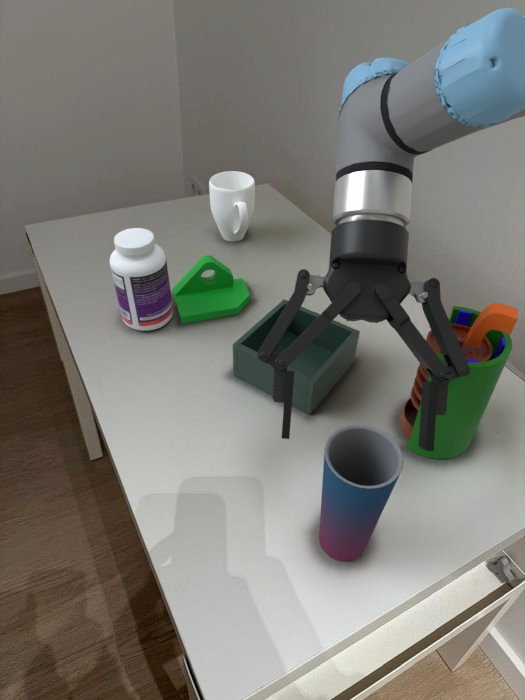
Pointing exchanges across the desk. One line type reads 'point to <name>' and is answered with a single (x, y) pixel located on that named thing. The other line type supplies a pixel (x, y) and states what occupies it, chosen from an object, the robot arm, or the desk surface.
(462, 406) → the coaster caddy
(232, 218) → the mug
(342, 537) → the cup
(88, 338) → the desk surface
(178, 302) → the bracket
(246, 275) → the desk surface
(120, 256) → the pill bottle
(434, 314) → the robot arm
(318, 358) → the holder
